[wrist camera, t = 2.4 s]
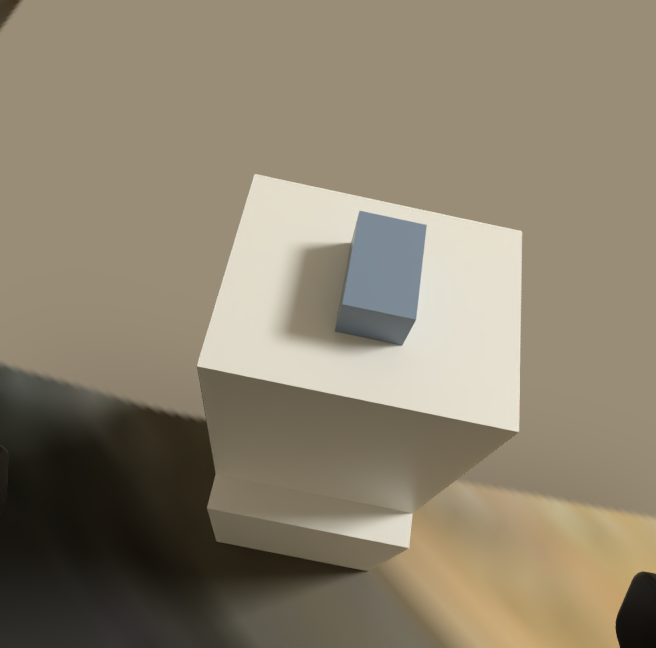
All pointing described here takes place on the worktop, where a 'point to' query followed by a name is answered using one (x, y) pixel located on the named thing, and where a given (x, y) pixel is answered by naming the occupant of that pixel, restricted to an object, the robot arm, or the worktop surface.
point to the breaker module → (354, 369)
